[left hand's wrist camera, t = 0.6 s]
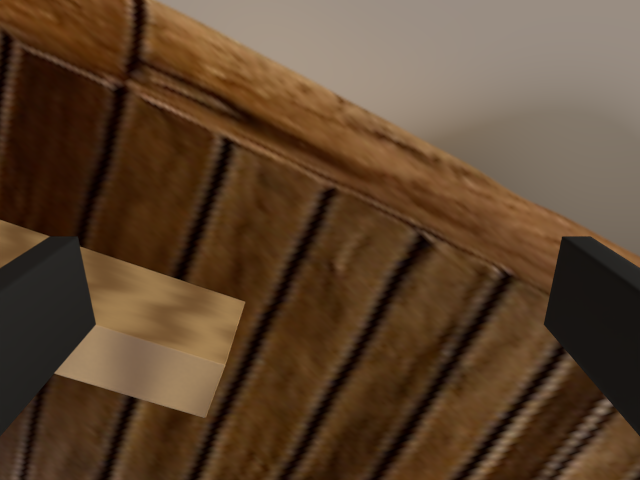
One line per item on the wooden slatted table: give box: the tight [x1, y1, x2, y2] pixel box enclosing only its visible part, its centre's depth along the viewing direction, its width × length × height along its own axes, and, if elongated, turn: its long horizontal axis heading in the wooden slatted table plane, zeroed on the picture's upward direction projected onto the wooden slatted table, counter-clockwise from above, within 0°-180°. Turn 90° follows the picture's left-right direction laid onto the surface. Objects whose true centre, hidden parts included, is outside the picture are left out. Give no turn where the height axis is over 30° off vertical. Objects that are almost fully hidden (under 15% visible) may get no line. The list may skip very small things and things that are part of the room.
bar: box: [0, 220, 245, 418], centre depth 35 cm, size 23×5×9 cm, turn 69°
